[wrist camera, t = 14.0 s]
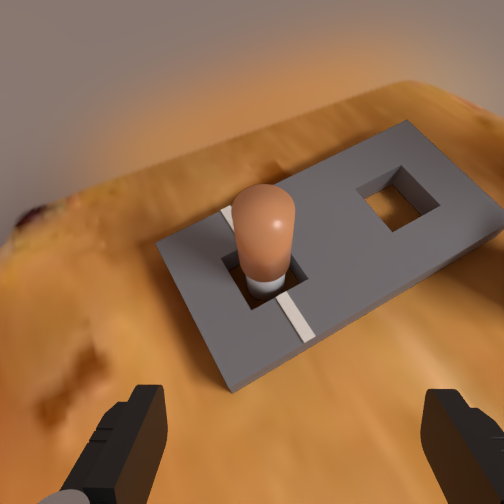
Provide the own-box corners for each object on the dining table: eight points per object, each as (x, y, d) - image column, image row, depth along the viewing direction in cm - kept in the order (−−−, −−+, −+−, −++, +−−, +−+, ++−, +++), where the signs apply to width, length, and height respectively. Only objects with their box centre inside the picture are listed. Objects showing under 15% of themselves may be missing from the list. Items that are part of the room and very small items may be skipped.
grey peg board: (398, 140, 41) (407, 117, 38) (495, 236, 35) (515, 218, 32) (163, 257, 36) (154, 241, 33) (232, 393, 30) (228, 388, 27)
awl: (273, 256, 35) (274, 174, 25) (296, 290, 34) (307, 219, 23) (235, 275, 35) (220, 200, 24) (257, 312, 33) (250, 248, 22)
